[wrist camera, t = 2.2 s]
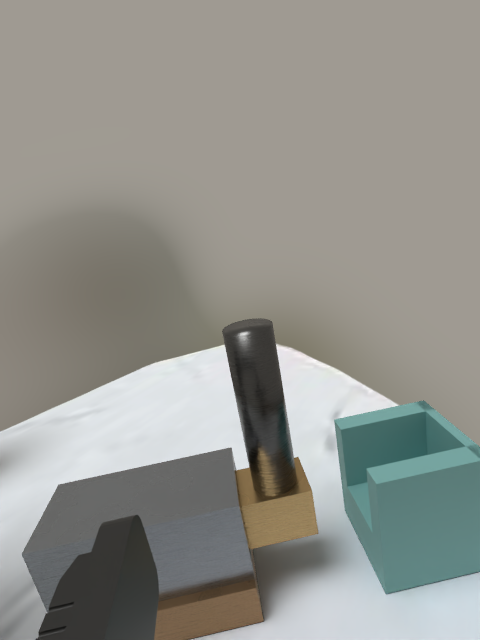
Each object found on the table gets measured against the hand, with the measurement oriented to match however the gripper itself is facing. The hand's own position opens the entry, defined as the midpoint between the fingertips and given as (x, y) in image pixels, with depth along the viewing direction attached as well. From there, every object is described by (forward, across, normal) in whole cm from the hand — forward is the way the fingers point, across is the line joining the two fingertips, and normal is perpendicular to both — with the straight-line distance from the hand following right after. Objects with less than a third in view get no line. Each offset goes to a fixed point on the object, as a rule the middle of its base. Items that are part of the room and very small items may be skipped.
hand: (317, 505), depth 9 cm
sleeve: (+12, +8, +15) cm, 20 cm away
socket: (+12, -8, +15) cm, 20 cm away
